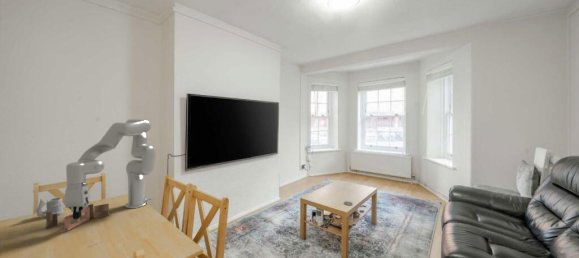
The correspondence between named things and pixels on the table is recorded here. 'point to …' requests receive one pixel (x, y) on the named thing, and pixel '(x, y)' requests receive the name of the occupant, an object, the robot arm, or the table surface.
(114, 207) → the table surface
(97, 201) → the table surface
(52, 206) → the mug
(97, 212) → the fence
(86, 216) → the gate
